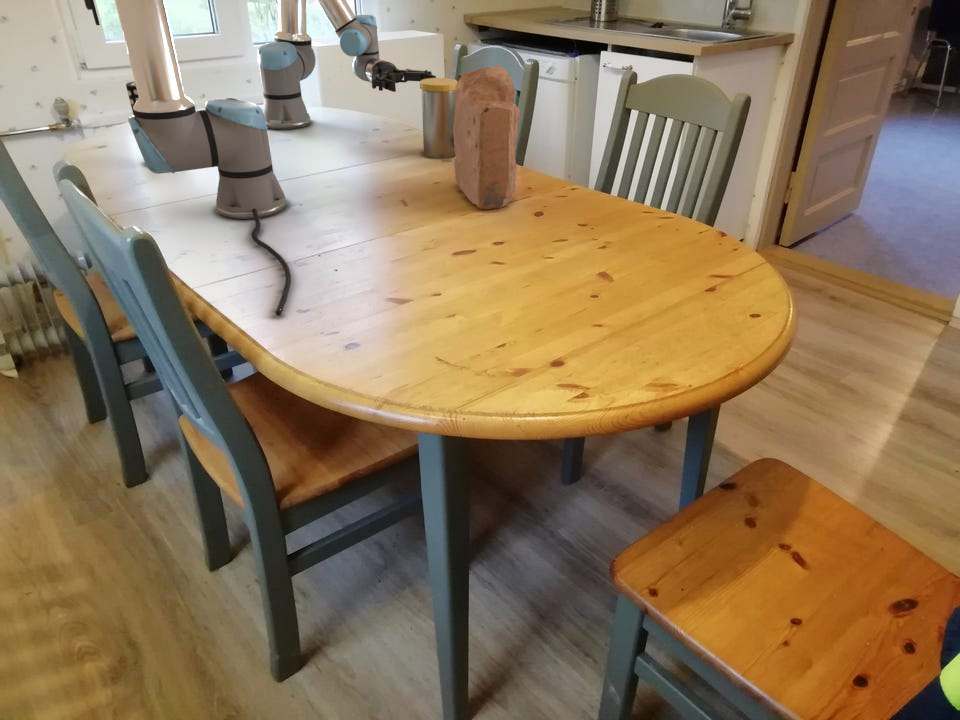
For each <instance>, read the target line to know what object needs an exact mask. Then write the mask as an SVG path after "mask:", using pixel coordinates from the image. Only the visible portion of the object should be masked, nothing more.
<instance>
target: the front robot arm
mask: <svg viewBox="0 0 960 720" xmlns="http://www.w3.org/2000/svg"><path fill="white" fill-rule="evenodd" d="M83 1H84V5H85V7H86V9H87V11H89V10H91V12H92V15H93V19H94V23H95V26H101V24H100V20H99V16H98V13H97V8H96V4H95V1H94V0H83ZM165 1H166V0H114V2H115V6H116V10H117V14H118V19H119V23H120V26H121V31H122V35H123V39H124V42H125V46H126V51H127V55H128V59H129V63H130V67H131V72H132V77H133V79H134V80H133V81H135V84H136V88H137V92H138V96H139V98H138V100H137V102H136V103H135V104H134V106H133V110H134V114H135V116H134V115H131V116H129V117H128V119H127V121H128V123H129V126H130V128H131V131H132V134H133V137H134V139H135V142H136V144H137V147H138V149H139V151H140V153H141V156H142V159H143V161H144V163H145V165H146V168H147V169H148V170H149V171H150V172H151V173H153V174H158V175H161V174H170V173H171V174H176V173H178V172H186V171H187V172H188V171H195V170H201V169H208V168H215V167H217V169H218V170H217V172H218V185H217V193H216V201H215V203H216V204H215V206H216V210H217V213H218V214H219V215H221V216H223V217H225V218H229V219H236V220H253V219H254V222H255V227H254V229H253V231H252V233H251V239H252V240H253V242H254V243H255V244H257V245H258V246H260V247H261V248H263V249H264V250H266V251H267V252H268V253H270V254H271V255H272V256H273V257H275V259H276V260H277V261H278V262H279V263H280V265H281V267H282V268H283V271H284V275H285V276H284V277H285V281H284V282H285V283H284V287H283V290H282V293H281V297H280V300H279V302H278V305H277V307H276V310H277V311H276V310H275V315H276V316H281V315H282V312H283V310H284V307H285V304H286V302H287V300H288V297H289V296H288V295H289V292H290V288H291V283H292V276H291V271H290V267H289V265H288V263H287V262H286V261H285V259H284V258H283V256H281V254H279V253H278V252H277V251H276V250H274V249H273V248H272V247H271V246H270V245H268V244H267V243H266V242H264V241H262V240H260V239H259V238H258V236H257V235H258V233H259V231H260V229H261V220H260V218H261V219H262V218H265V217H266V218H267V217H270V216H274V215H276V214H278V213H280V212H282V211H283V210H285V209H286V207H287V199H286V194H285V193H284V191H283V189H282V187H281V184H280V182H279V180H278V179H277V177H276V175H275V172H274V167H273V160H272V154H271V147H270V140H269V135H268V129H269V128H268V127H267V125H266V121H265V116H264V112H263V108H261V107H260V106H259V105H258V104H255V103H253V102H249V101H244V100H239V99H237V100H227V99H226V98H224V99H222V98H221V99H214V100H213V99H212V100H211V99H209V100H207V101H206V102H205V104H204V109H199V110H197V109H196V106H195V102H194V101H193V100H192V99H191V98H190V97H188V96H186V94H185V90H184V85H183V82H182V77H181V72H180V67H179V63H178V59H177V53H176V49H175V44H174V39H173V35H172V34H173V33H172V29H171V23H170V21H169V16H168V9H167V6H166V2H165ZM280 309H281V310H280Z"/></svg>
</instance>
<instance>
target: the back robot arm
mask: <svg viewBox="0 0 960 720" xmlns="http://www.w3.org/2000/svg"><path fill="white" fill-rule="evenodd" d="M315 2H316V3H317V4H318V6H319V8H320V9H321V11H322V13H323V14H324V16H325V18H326V19H327V21H328V22H329V25H330V26H331V27H332V29H333V31H334V32H335V33H336V35H337V37H338V43H339V47H340V50H341V51H342V52H343V54H345V55H347V56H348V57H354V59H353V61H352V64H351V69H352V72H353V74H354V75H355V76H356V77H357V78H359V79H360V80H362V81H364V82H368V83H371V89H373V90H375V89H377V87H378V91H379V92H380V91H381V92H383V91H384V89H385V90H387V91H390V92H393V93H395V92H397V87H396V84H399V83H407V82H420V81H421V80H423V79H428V78H437V75H434V74H433V73H432V71H431V70H428V69H425V70H419V69H411V68H405V69H399V68H397V66H396V65H395V64H394V63H393V62H390V61H387V60H384V59H382V58H381V59H380V49H379V38H378V26H377V18H376V16H375V15H373V14H358V15H356V14H355V13H354V11H353V10H352V8H351V7H350V5H349V3H348V1H347V0H315ZM277 15H278V19H277V21H278V30H277V31H276V32H275V33H274V34H273V36H274V37H273V41H271V42H269V43H264V44H262V45H261V46H259V48H257V51H256V53H257V63H258V69H259V77H260V81H261V89H262V94H263V106H262V110H263V112H264V116H265V121H266V125H267V127H268V129H271V130H293V129H294V130H295V129H300V128H305V127H307V126H309V125H310V124H311V116H310V113H309V112H308V110H307V107H306V105H305V102H304V99H303V96H302V89H301V87H302V86H301V81H304V80H306V79H307V78H308V77H309V76H310V75H311V74H312V73H313V71H314V69H315V67H316V63H317V62H316V61H317V60H316V59H317V57H316V53H315V51H314V49H313V47H312V37H311V36H310V35H309V33H308V32H307V31H308V30H307V0H277ZM225 99H227V100H238V99H236V98H233V97H227V98H225Z"/></svg>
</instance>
